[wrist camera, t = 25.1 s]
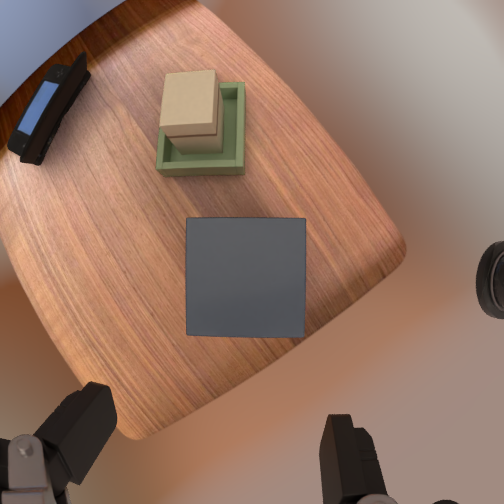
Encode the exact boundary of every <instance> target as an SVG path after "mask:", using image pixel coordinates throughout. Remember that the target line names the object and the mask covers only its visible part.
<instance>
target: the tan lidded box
mask: <svg viewBox="0 0 504 504" xmlns="http://www.w3.org/2000/svg"><path fill="white" fill-rule="evenodd" d="M224 113H225V108H224V104H223V99H222V95H221V91H220V85H219V83H218V78H217V74H216V70H201V71H189V72H178V73H169V74H166V75H165V82H164V90H163V97H162V105H161V114H160V123H159V127H160V128H161V129H162V130H163V132H164V133H165V134H166V136H167V138H168V139H170V141H171V142H172V143H173V145H174V146H175V147H176V149H177V150H178V151H179V152H180V154H181V155H189V154H217V153H223V140H224Z"/></svg>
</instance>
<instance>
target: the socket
mask: <svg viewBox="0 0 504 504" xmlns="http://www.w3.org/2000/svg"><path fill="white" fill-rule="evenodd" d="M219 85H220V91H221V95H222V99H223V104H224V108H225V113H224V140H223V153H217V154H189V155H181V154H180V152H179V151H178V150H177V149H176V147H175V146H174V145H173V143H172V142H171V141H170V139H168V138H167V136H166V134H165V133H164V132H163V130H162V129H161V128H160V127H159V135H158V146H157V158H156V170H157V171H158V172H159V173H161V174H162V175H163V176H164V177H174V176H202V175H245V121H246V91H245V82H222V83H219Z"/></svg>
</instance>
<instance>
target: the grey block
mask: <svg viewBox="0 0 504 504" xmlns="http://www.w3.org/2000/svg"><path fill="white" fill-rule="evenodd" d="M305 298H306V218H266V217H202V218H186V334H187V335H190V336H212V337H252V338H294V337H304V331H305Z"/></svg>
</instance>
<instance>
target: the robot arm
mask: <svg viewBox="0 0 504 504" xmlns="http://www.w3.org/2000/svg"><path fill="white" fill-rule="evenodd" d="M489 294H490V298H491V300H492V302H493V304H494V306H495V307H496V308H497V309H499V310H501V311H504V250H503V251H502V252H500V253H499V254H498V255H497V256H496V258H495V260H494V261H493V264H492V266H491V269H490V274H489ZM116 424H117V413H116V409H115V405H114V401H113V397H112V393H111V389H110V387H109V386H107V385H103V384H99V383H96V382H92V381H91V382H88V383H87V385H86V386H85V387H84V388H83V389H82V391H79V390H77V391H76V392H74V393H72V394H70V395H68V396H67V397H66V398H65V399H64V400H63V401H62V402H61V404H60V406H58V407H57V408H56V409H55V411H54V412H53V413H52V414H51V415H50V416H49V417H48V418H47V419H46V420H45V422H44V423H43V424H42V425H41V426H40V428H39V429H38V430H37V431H36V432H35V433H34V434H33V435H29V434H24V435H19V436H17V437H15V438H14V439H12V440H6V439H2V438H0V504H71V501H70V497H69V493H68V489H67V487H66V486H67V484H68V482H69V481H70V482H73V483H75V484H77V485H80V484H81V483H82V481H83V480H84V478H85V476H86V475H87V473H88V471H89V470H90V468H91V466H92V465H93V463H94V461H95V460H96V458H97V457H98V455H99V453H100V452H101V450H102V449H103V447H104V445H105V444H106V442H107V441H108V439H109V437H110V436H111V434H112V433H113V431H114V429H115V427H116ZM319 457H320V469H321V481H322V493H323V504H398V503H397V502H396V501H395V500H394V499H393V498H391V497H389V496H388V494H387V491H386V488H385V484H384V480H383V476H382V472H381V468H380V465H379V461H378V460H377V454H376V451H375V447H374V443H373V440H372V437H371V436H370V435H369V433H368V432H367V431H366V430H365V429H364V428H354V427H353V423H352V419H351V416H350V415H349V414H336V415H335V414H334V415H333V414H332V415H331V414H329V415H328V417H327V421H326V425H325V428H324V432H323V436H322V440H321V444H320V451H319ZM434 504H458V503H457V502H454V501H451V500H440V501H437V502H435V503H434Z"/></svg>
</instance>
